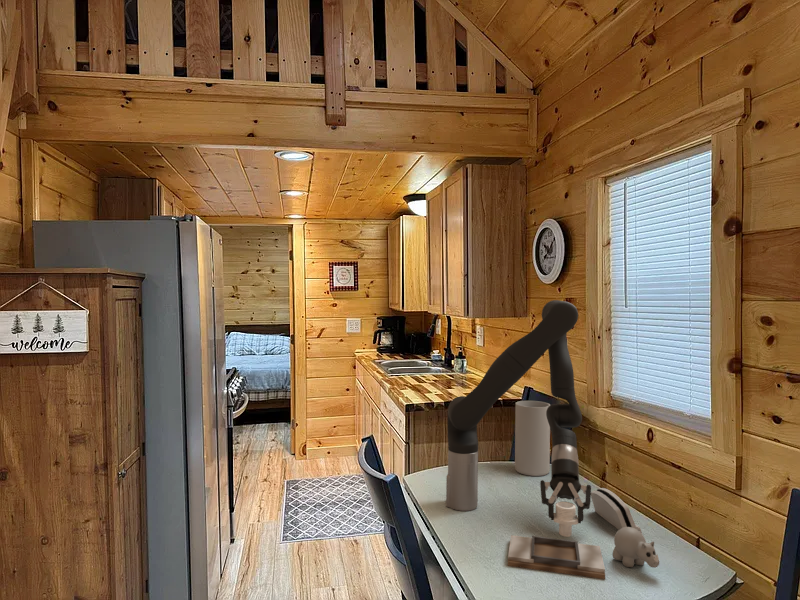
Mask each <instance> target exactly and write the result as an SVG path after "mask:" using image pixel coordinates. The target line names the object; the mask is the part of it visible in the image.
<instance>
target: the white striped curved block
mask: <svg viewBox="0 0 800 600" xmlns="http://www.w3.org/2000/svg"><path fill="white" fill-rule="evenodd" d="M590 499H591V501H592V504H593V508H594V511H595V513H596V514H598V516H601V517H602V518H603V519H604V520H605V521H606V522H608V523H609V524H611V525H612V526H613V527H614V528H616V529H617V531H618V530H620V529H621V528H624V527H632V528H635V529H637V530H638V531H640V532H641V533H642V528H641V527H639V526H638V525H637V524H636V523H635V521H634V518H633V516H632V513H631V510H630V508H629V506H628V505H627V504H626V503H625V502H624V501H623V500H622V499H621V498H620V497H619V496H618V495H617V494H616V493H615V492H613V491H611V490H610V489H608V488H605V487H601V488H597V489H596V490H592V491H591V498H590ZM642 534H643V533H642Z"/></svg>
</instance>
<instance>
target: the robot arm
mask: <svg viewBox="0 0 800 600" xmlns="http://www.w3.org/2000/svg"><path fill="white" fill-rule="evenodd" d="M578 319H579V311H578V309H577V307H576V306H575V305H574V304H573V303H571V302H568V301H565V300H560V299H559V300H557V299H554V300H550V301H548V302H546V303H545V304H544V306H543V308H542V310H541V320H540V322H539V323H538V324H537V326H535V328H534V329H532V330H531V331H530V332H529V333H527V334H525V335H524V336H523V337H521V338H519V339H518V340H516V341H514V342H513V343H511V344H510V345H509V346H508V347H506V349H504V351H502V353H501V354H500V355H499V356H498V357H497V358H496V359H494V361H493V362H492V364H491V365H490V366H489V367H488V370H487V371H486V373H485V374H484V376H483V378H482V379H481V381H480V382H479V383H478V385H477V386H475V388H473V389H472V390H471V391H470V392H469V393H468V394H467V395H466V396H463V395H461V396H457V397H455V398H453V399H452V400H451V401H450V402H449V404H448V407H447V450H448V451H447V455H448V456H447V475H446V478H445V479H446V483H445V485H446V486H445V487H446V490H445V492H446V495H445V496H446V497H445V498H446V499H445V500H446V501H445V507H446V508H449V509H453V510H456V511H461V512H462V511H463V512H465V511H467V512H469V511H473V510H476V509H477V508H478V502H479V501H478V500H479V499H478V497H479V496H478V495H479V493H478V492H479V491H478V489H479V488H478V487H479V440H478V425H479V423H480V422H481V420H482V419H483V418H484V416H485V415H486V414H487V413H488V411H489V410H490V409H491V408H492V406H493V405H494V404H495V403H496V402H497V401H498V400H499V399H500V398H501V397H503V396H504V395H505V394H506V393H507V392H508V391H509V390H510V389H511V388H512V387H513V386H514V385H515V384H516V383H518V381H519V380H520V379H522V377H524V375H525V374H527V372H528V371H529V370H530V369H532V367H533V366H534V364H536V362H537V361H538V360H539V359H540V358H541V357H542V356H543V355H544V354H545V353H546V352H547V351H548V360H549V378H550V392H551V395H552V396H553V397H554V398H558V399H562V400H565V401H566V402H567V403H568V404H567V403H565V404H564V403H552V404H550V406H549V407H548V408H547V411H546V416H547V420H548V423H549V426H550V434H551V439H552V440H551V442H552V443H551V445H552V449H551V456H550V457H551V459H550V460H551V461H550V466H551V468H550V469H551V476H550V477H551V479H550V481H545V480H543V479H542V480H540V484H539V485H540V486H539V487H540V497H541V504H543V505H545V506H547V507H548V509H547V510H548V514H547V516H548V518H549V519H550V520H551V521H554V513H555V510H554V509H555V508H554V507H555V504H556V503H557V500H558V499H561V500H562V499H563V500H564V499H567V500H572V502H573V504H574V505H575V507H577V517H578V524H581V523H582V522H584V511H585V510H589V509H590V507H591V499H592V498H591V492H592V486H591V484H587V485H584V484H583V485H582V484H581V483H580V470H579V464H580V463H579V456H578V443H577V435H576V433H575V432H574V431H573V430H572V429H571V430H570V429H568V428H578V427H579V426H580V425H581V424H582V421H583V415H582V412H581V409H580V406H579V403H578V400H577V397H576V391H575V380H574V379H575V376H574V375H575V374H574V368H573V362H572V359H571V355H570V352H569V347H568V340H567V333H568V332H569V331H571V330H572V329H573V328H574V327H575V325H576V324H577V322H578ZM549 488H550V489H551V490H552V494H551V496H550V498H547V492H546V491H548V489H549ZM580 491H582V493H583V494H584V495H585V499H584V500H585V501H582V499H581V497H580V496H579V495H580V494H578V493H579V492H580Z"/></svg>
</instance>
